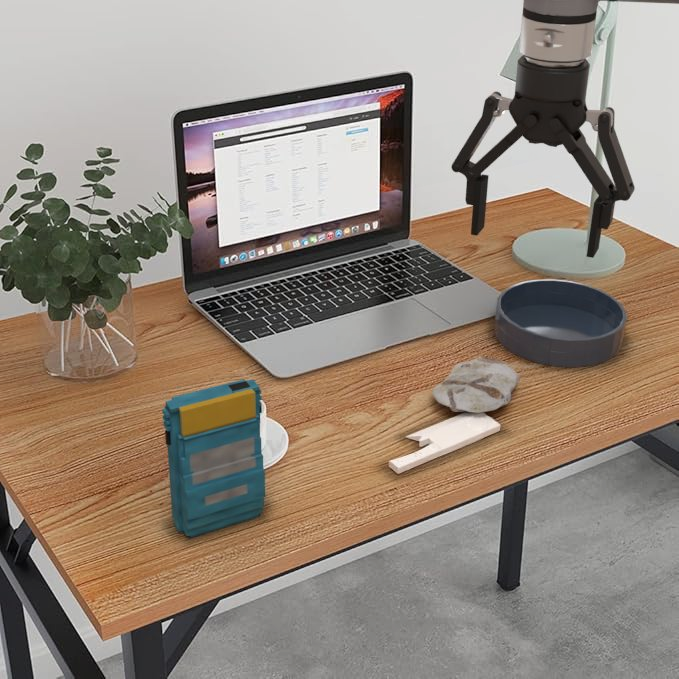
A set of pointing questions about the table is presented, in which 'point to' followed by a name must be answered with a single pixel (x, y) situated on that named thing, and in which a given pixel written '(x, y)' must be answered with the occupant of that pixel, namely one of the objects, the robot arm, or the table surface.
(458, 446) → the white plastic strip tool
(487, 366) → the stone
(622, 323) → the bowl
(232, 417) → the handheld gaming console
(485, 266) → the table surface
